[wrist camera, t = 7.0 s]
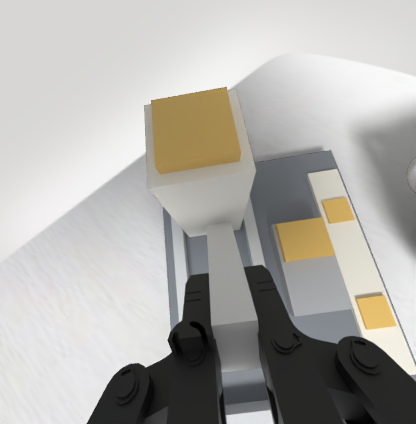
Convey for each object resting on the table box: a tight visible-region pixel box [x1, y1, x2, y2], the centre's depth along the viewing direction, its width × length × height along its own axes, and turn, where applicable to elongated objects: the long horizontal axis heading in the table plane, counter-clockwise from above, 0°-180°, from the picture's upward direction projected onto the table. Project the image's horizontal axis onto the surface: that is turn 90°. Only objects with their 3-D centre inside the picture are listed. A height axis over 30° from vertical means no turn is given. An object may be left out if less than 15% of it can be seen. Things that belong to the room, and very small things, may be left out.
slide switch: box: [144, 87, 256, 237], centre depth 12 cm, size 4×4×10 cm
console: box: [163, 150, 416, 424], centre depth 14 cm, size 15×18×3 cm
